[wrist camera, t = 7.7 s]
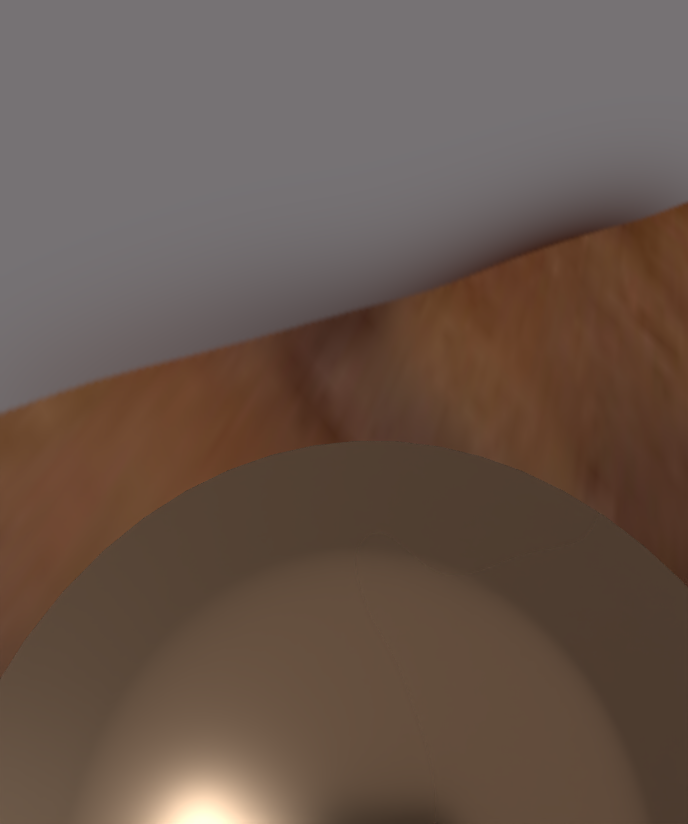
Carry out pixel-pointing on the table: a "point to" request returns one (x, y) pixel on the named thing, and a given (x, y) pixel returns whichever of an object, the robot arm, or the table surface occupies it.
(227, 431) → the table surface
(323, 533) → the gold metallic cylinder
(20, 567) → the table surface
